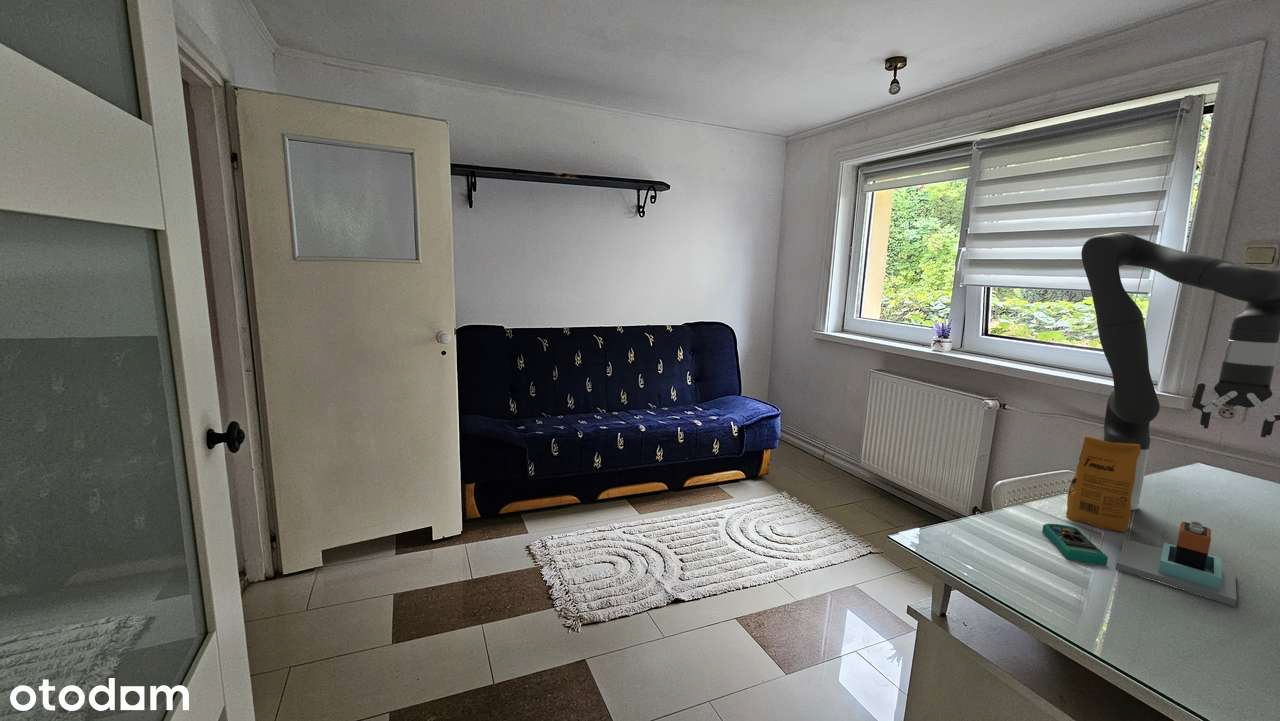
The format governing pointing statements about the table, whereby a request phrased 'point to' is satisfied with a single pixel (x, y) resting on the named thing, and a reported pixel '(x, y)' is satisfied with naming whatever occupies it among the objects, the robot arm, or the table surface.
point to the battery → (1193, 545)
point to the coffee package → (1103, 484)
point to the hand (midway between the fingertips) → (1233, 432)
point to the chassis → (1178, 571)
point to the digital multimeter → (1074, 544)
